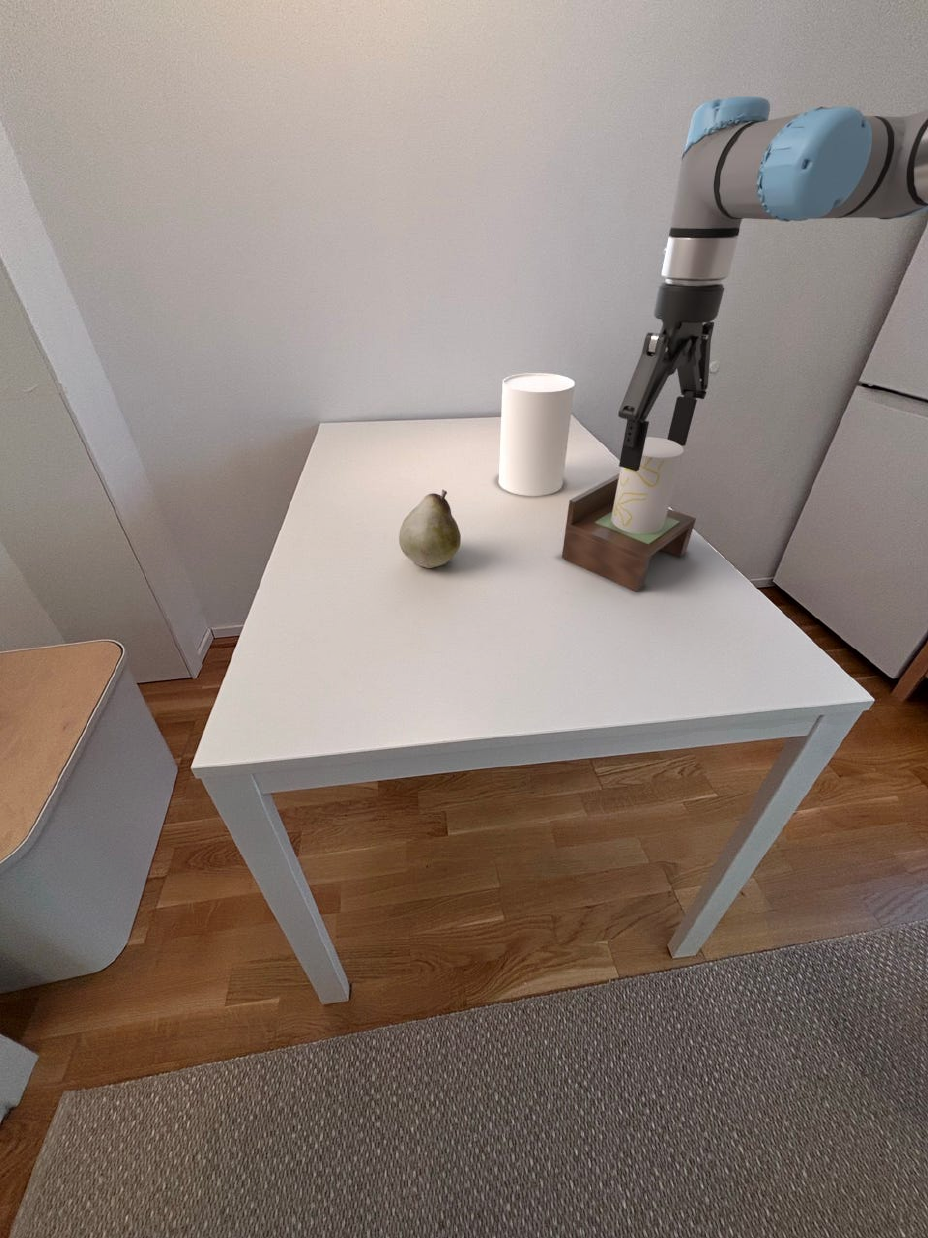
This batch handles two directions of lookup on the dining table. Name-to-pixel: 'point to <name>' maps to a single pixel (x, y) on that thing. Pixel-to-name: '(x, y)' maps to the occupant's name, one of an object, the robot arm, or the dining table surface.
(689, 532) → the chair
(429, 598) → the dining table surface
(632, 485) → the white round cylinder
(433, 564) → the fruit
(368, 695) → the dining table surface
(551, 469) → the canister
